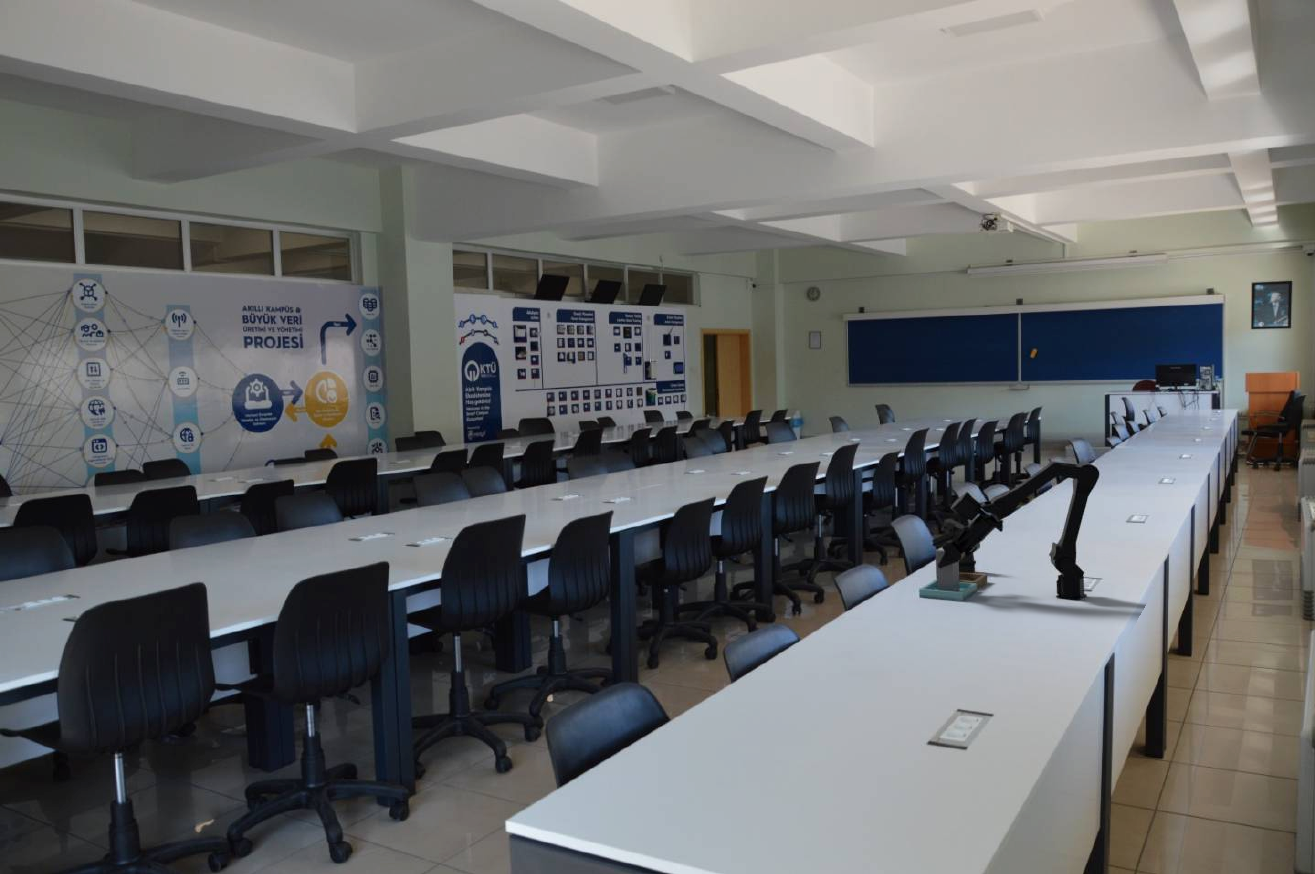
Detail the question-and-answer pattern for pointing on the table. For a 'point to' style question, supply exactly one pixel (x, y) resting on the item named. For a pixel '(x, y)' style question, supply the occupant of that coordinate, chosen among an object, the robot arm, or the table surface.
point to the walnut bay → (973, 578)
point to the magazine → (965, 563)
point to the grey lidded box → (947, 574)
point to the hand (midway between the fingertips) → (942, 564)
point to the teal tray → (961, 595)
